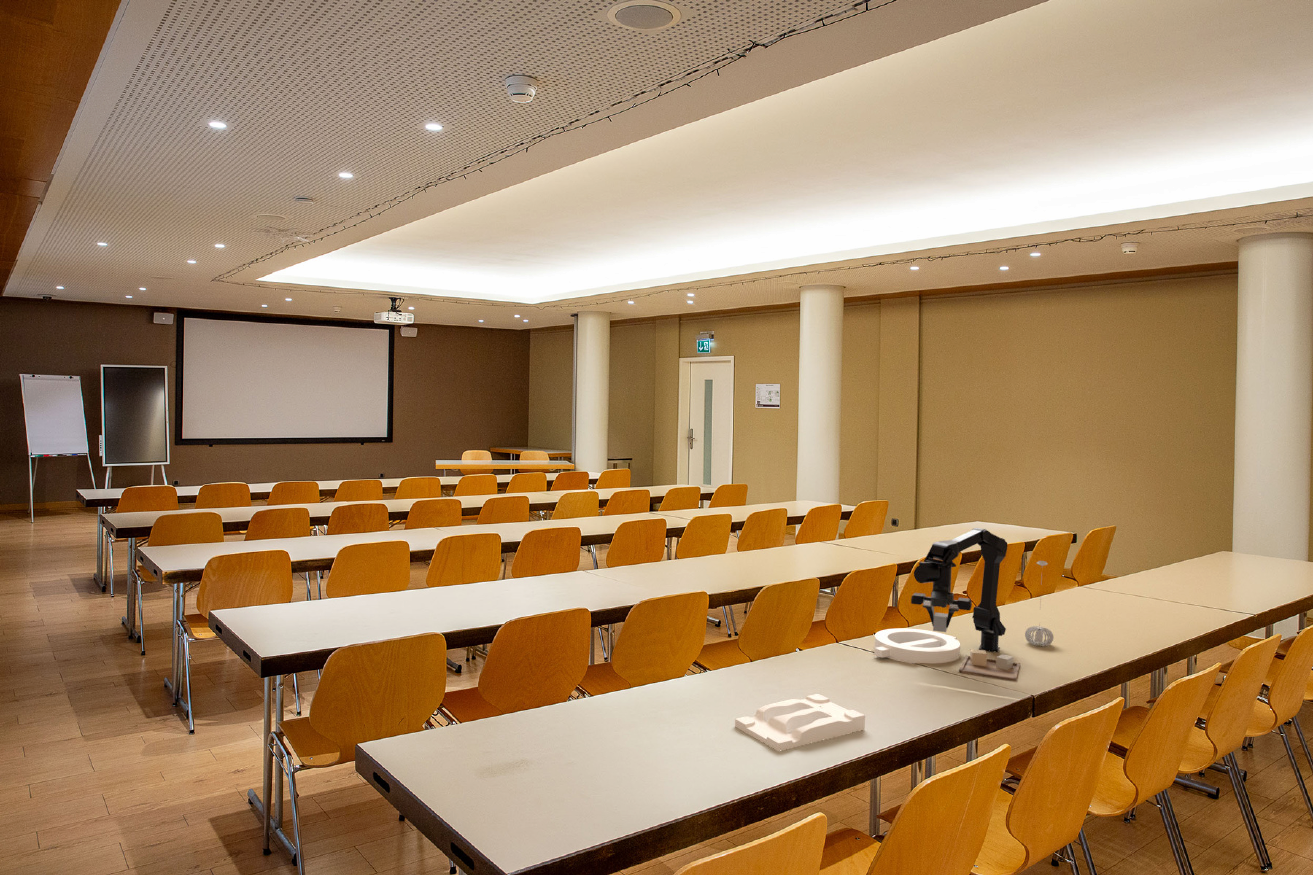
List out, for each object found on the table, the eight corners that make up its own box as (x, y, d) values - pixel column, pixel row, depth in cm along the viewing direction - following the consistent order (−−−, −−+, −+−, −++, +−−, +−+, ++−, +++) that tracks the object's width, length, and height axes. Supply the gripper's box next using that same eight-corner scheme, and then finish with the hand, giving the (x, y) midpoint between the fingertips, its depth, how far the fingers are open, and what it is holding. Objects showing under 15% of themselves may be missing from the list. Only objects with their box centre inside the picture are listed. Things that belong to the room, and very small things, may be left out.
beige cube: (1002, 664, 274) (1002, 654, 274) (1012, 667, 271) (1013, 656, 271) (995, 667, 271) (996, 656, 271) (1006, 670, 268) (1007, 659, 268)
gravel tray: (966, 658, 281) (966, 655, 281) (1019, 666, 273) (1019, 663, 273) (958, 673, 265) (959, 670, 265) (1015, 682, 257) (1015, 678, 257)
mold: (865, 731, 217) (865, 714, 217) (779, 753, 202) (779, 734, 202) (817, 709, 233) (817, 693, 233) (734, 728, 218) (734, 710, 218)
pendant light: (1056, 649, 295) (1059, 564, 294) (1028, 647, 297) (1031, 563, 296) (1049, 641, 304) (1052, 559, 303) (1022, 639, 306) (1025, 558, 305)
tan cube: (969, 661, 277) (970, 649, 277) (984, 662, 276) (984, 650, 276) (971, 664, 273) (972, 652, 273) (986, 665, 272) (986, 653, 272)
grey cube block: (935, 627, 282) (935, 612, 282) (947, 628, 281) (948, 613, 281) (933, 630, 278) (933, 615, 278) (945, 632, 276) (946, 617, 276)
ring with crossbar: (956, 645, 298) (956, 632, 297) (962, 669, 271) (963, 655, 271) (874, 638, 305) (875, 625, 305) (873, 660, 278) (874, 646, 278)
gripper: (909, 581, 275) (907, 628, 276) (969, 588, 268) (967, 636, 268) (914, 575, 286) (912, 621, 286) (972, 581, 278) (970, 628, 278)
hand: (940, 626), depth 279 cm, fingers closed on grey cube block, 4 cm apart
